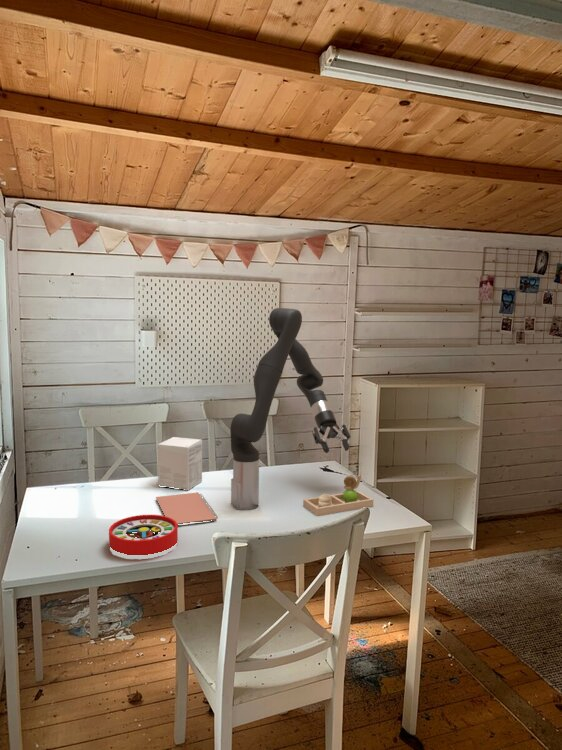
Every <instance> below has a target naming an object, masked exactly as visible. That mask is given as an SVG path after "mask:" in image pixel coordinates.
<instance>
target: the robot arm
mask: <svg viewBox="0 0 562 750" xmlns="http://www.w3.org/2000/svg"><path fill="white" fill-rule="evenodd" d="M268 321H269V322H268V323H269V327H270V329H271V330H272V332H273V333H274V334H275V336H276V338H277V339H278V340H277V341H276V343H275V344H274V345H273V346H272V347H271V348H270V349H268V351H267V352H266V353H265V354H264V355H263V356H262V357H261V358H260V360H259V362H258V363H257V365H256V368H255V372H254V374H253V388H254V394H255V402H254V406H253V409H252V412H251V414H246V413H238V414H235V415H234V417H233V418H232V420H231V423H230V432H229V433H230V448H231V449H230V451H231V453H232V456H233V460H232V461H233V462H232V463H233V468H232V469H233V470H232V471H233V472H232V474H233V477H232V478H231V479H230V487H231V488H230V504H231V506H232V507H233V508H234V509H236V510H241V511H243V510H244V511H245V510H246V511H247V510H248V511H249V510H253V509H257V508H258V507H259V506H260V505H259V502H260V496H259V495H260V452H259V450H258V449H257V448H256V447H255V446H254V445H253V444H252V443H257V442H259V441H260V440H261V439H262V437H263V435H264V433H265V430H266V427H267V422H268V417H269V414H270V410H271V406H272V402H273V400H274V397H275V393H276V391H277V387H278V386H279V383H280V380H281V377H282V374H283V371H284V367H285V365H286V363H287V360H288V357H289V358H290V360H291V363H292V366H293V367H294V369H295V371H296V373H297V374H298V375H299V376H298V377H297V378H296V385H297V387H298V388H299V390H300V391H301V392H302V394H303V395H304V396H305V397H306V399H307V401H308V404H309V406H310V409H311V413H312V416H313V418H314V421H315V423H316V426H317V427H316V426H314V427H313V429H312V430H311V432H312V436H313V439H314V443H315V444H316V445H318V444H320V445H321V448H322V450H323V452H324V453H325V454H328V453H329V452H330V448H329V445H328V443H327V441H326V440H327V439H328V440H329V439H336V440H338V441H340V442H341V443H342V444H341V445H342V447H343V449H344V451H345V452H347V451H348V450H349V449H350V444H349V442H348V441H349V440H350V438H351V434H350V432H349V430H348V429H347V426H346V425H345V424H342V425H338V423H337V420H336V417H335V415H334V412H333V410H332V407H331V406H330V403H329V402H328V399H327V397H326V395H325V392H324V391H323V390H322V389H317V388H320V387H321V386H323V383H324V377H323V376H322V373H320V371H319V370H318V369H317V368H316V367H315V366H314V364H313V362H312V359H311V357H310V355H309V353H308V351H307V350H306V348H305V347H304V345H302V344H301V343H300V341H299V340H297V339H296V338H297V337H298V334H299V331H300V330H301V326H302V323H303V315H302V313H301V311H300V310H299V309H295V308H287V307H286V308H284V307H275V308H274V309H273V310H271V311H270V314H269V317H268ZM320 434H321V436H320Z"/></svg>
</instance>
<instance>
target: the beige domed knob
mask: <svg viewBox="0 0 562 750" xmlns="http://www.w3.org/2000/svg"><path fill="white" fill-rule="evenodd" d="M330 495H331V494H330ZM330 495H329V494H328V493H322V494H320V495H319V496H318V497H319V504H318V507H324V506H330V505H332V499H331V497H330Z"/></svg>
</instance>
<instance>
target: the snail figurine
mask: <svg viewBox="0 0 562 750" xmlns="http://www.w3.org/2000/svg"><path fill="white" fill-rule="evenodd" d="M359 473H360V474H358V475H357V476H356V477H357V479H356V478H355V477H354V476H352V475H347V476H346V477H345V478H344V479H343V484H344V485H343V488H344V489H345V490H344V492H343V500H344V501H345V502H346V503H349V502H355V501H357V499H358V494H357V492H356V491H357V490H356V489H357V488H358V487H359V485H360V482H361V478H362V471H359Z"/></svg>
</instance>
